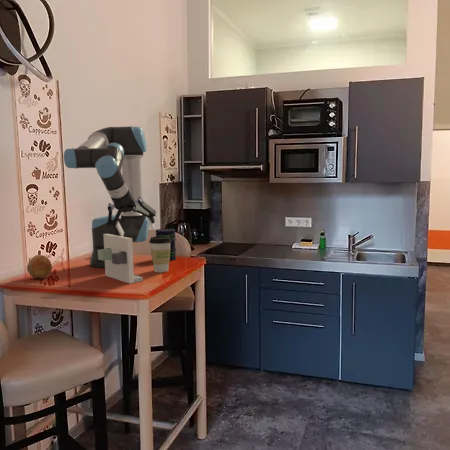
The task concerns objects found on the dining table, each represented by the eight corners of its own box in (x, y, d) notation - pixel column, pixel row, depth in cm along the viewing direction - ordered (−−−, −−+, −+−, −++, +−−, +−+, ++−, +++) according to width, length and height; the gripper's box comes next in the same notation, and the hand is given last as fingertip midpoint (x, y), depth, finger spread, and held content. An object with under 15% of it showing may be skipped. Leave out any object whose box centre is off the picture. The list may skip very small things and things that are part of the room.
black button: (112, 263, 187) (111, 253, 187) (125, 261, 191) (125, 251, 191) (117, 264, 184) (116, 254, 184) (130, 262, 188) (130, 252, 188)
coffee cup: (168, 273, 203) (167, 239, 201) (146, 273, 205) (145, 239, 203) (175, 268, 213) (174, 236, 211) (154, 268, 215) (153, 235, 213)
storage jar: (152, 260, 233) (151, 230, 231) (162, 257, 242) (161, 228, 240) (170, 261, 229) (169, 231, 227) (179, 258, 238) (179, 228, 236)
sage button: (98, 259, 196) (97, 249, 196) (111, 257, 200) (110, 248, 200) (102, 260, 193) (102, 251, 193) (115, 258, 197) (115, 249, 197)
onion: (22, 280, 196) (20, 256, 195) (39, 275, 205) (37, 252, 204) (41, 281, 192) (39, 257, 191) (57, 276, 202) (56, 253, 200)
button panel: (105, 275, 201) (103, 234, 199) (117, 273, 205) (116, 232, 203) (129, 283, 187) (127, 238, 184) (142, 280, 191) (140, 237, 188)
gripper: (87, 205, 179) (108, 243, 194) (149, 192, 176) (166, 232, 191) (90, 193, 185) (111, 230, 199) (151, 180, 182) (167, 219, 196)
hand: (138, 231), depth 195 cm, fingers open, 13 cm apart
